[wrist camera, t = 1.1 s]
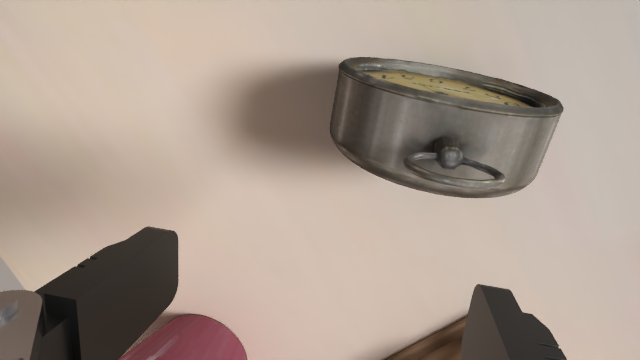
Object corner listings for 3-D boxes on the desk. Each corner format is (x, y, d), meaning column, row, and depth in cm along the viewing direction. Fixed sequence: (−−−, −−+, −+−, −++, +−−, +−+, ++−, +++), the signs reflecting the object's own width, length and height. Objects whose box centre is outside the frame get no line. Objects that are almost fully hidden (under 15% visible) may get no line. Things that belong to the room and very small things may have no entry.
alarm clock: (524, 80, 26) (691, 137, 11) (497, 159, 28) (607, 302, 13) (356, 49, 27) (296, 62, 12) (341, 127, 29) (274, 221, 14)
